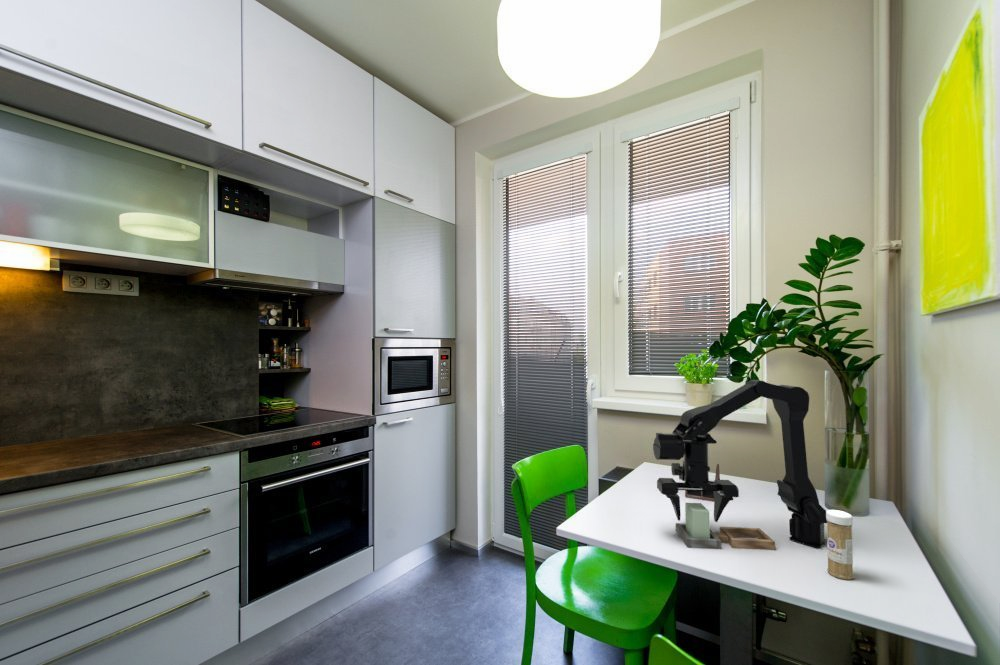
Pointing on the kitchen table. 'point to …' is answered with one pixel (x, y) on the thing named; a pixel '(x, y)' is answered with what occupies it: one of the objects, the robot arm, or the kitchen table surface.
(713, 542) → the joined double square frame
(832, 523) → the sprinkles bottle
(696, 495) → the letter holder
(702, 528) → the sage peg
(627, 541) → the kitchen table surface
